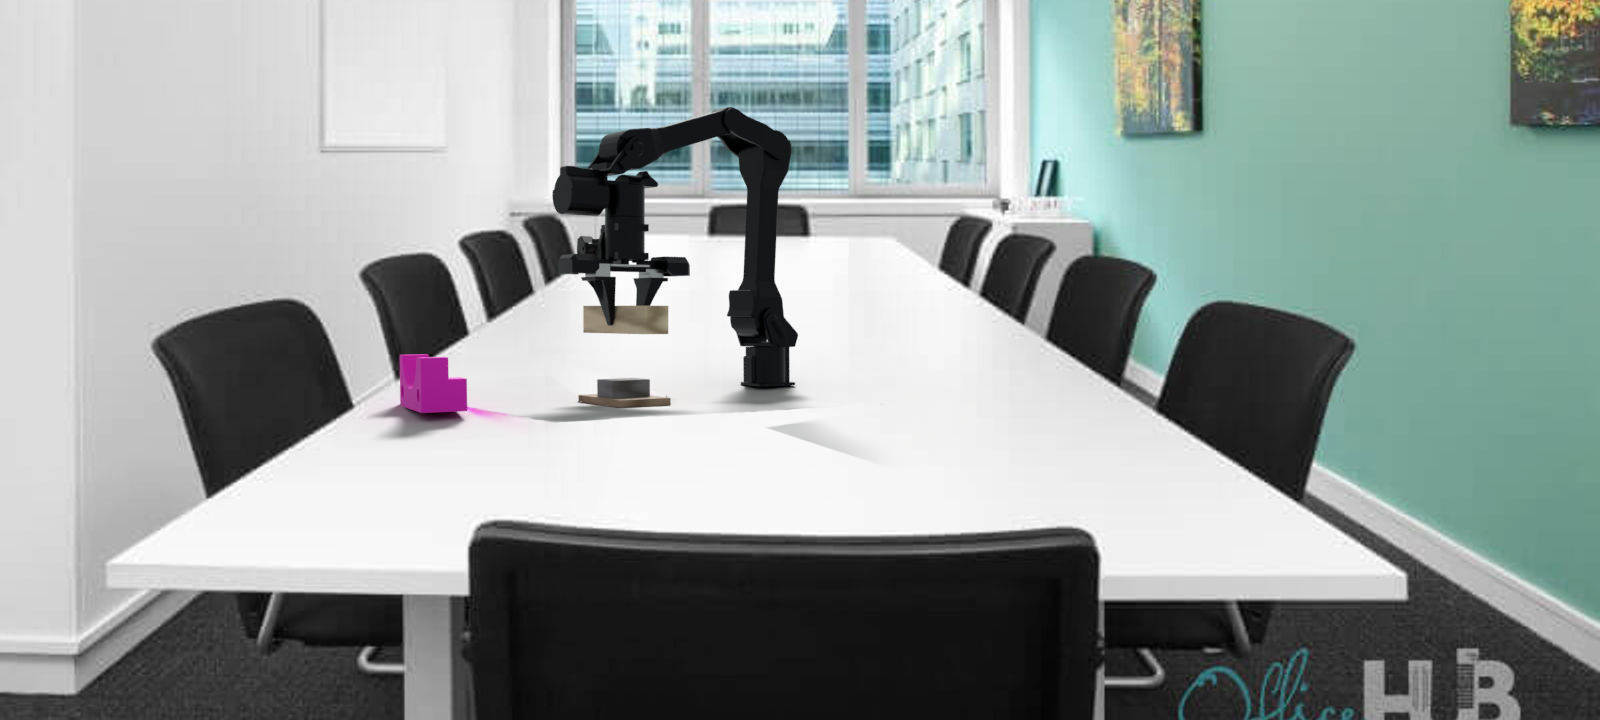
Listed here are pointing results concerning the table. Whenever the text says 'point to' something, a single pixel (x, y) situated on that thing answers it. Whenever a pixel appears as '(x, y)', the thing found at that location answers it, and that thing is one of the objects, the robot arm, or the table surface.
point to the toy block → (430, 385)
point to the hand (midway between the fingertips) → (624, 325)
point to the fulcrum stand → (624, 393)
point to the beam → (627, 320)
